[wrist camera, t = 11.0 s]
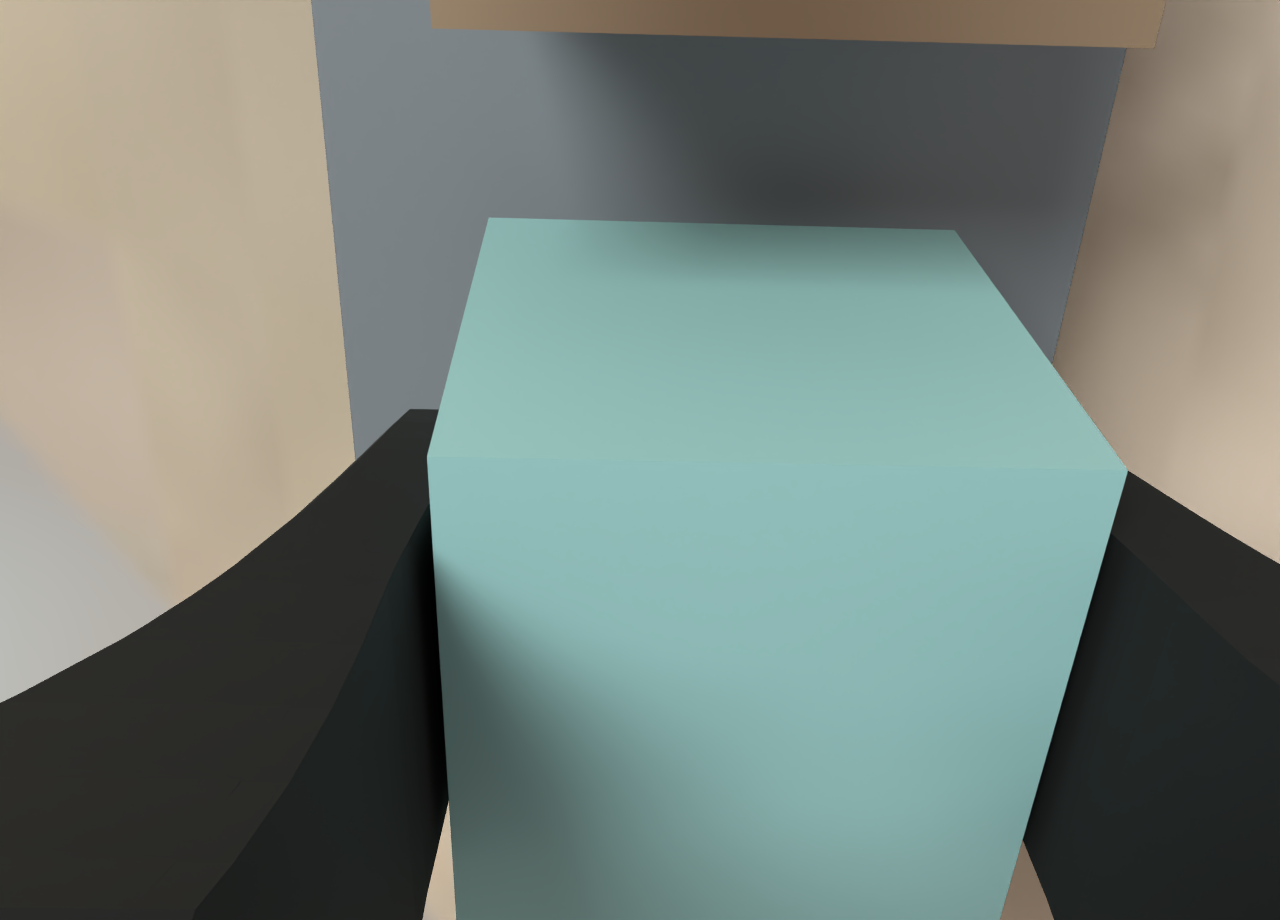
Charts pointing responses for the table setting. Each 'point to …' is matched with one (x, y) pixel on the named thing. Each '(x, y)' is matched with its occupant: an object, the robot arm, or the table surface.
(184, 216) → the table surface
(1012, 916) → the table surface
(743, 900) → the teal cube
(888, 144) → the board
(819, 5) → the walnut cube
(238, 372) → the table surface
